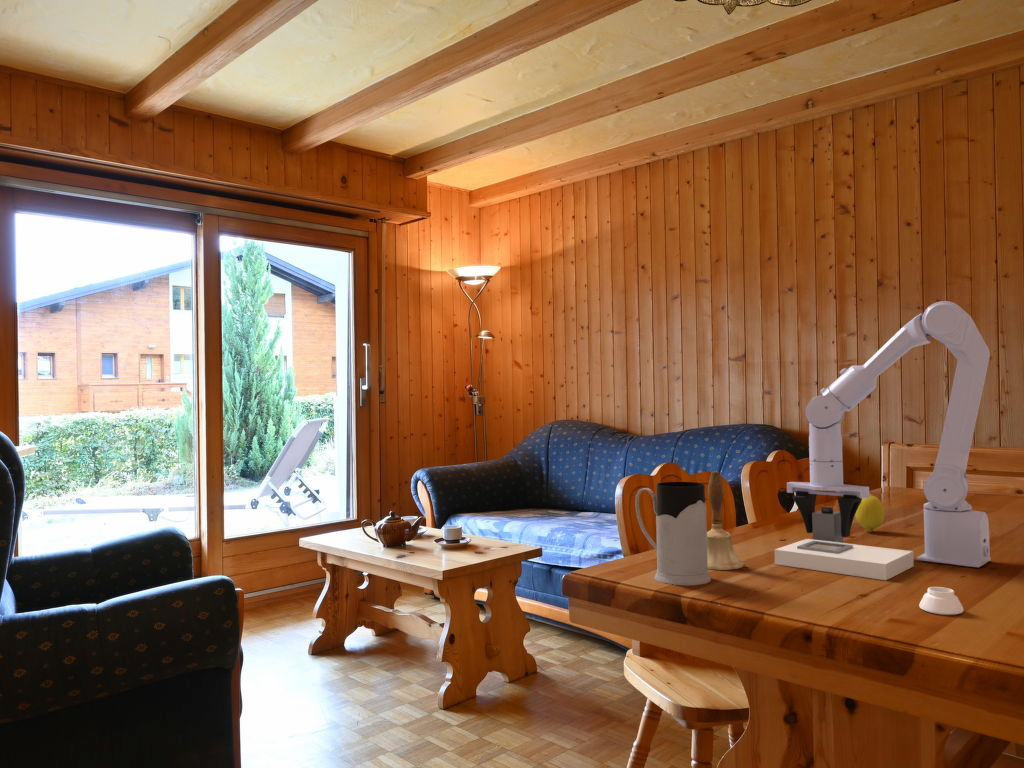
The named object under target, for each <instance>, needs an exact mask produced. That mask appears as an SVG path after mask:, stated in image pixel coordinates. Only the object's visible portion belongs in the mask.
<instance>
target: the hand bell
mask: <svg viewBox="0 0 1024 768" xmlns="http://www.w3.org/2000/svg"><path fill="white" fill-rule="evenodd" d="M710 473H711V474H710V477H709V480H708V485H707V494H708V500H709V502H710V506H711V529H710V530H707V562H708V570H714V571H731V570H738V569H741V568H744V566H745V565H744V562H743V561H742V560H741V559H740V558H739V557H738V555H737V553H736V552H735V548H734V546H733V542H732V534H731V533H729V532H728V531H726V530H724V529H723V522H722V505H723V500H724V494H725V493H724V492H725V491H724V483H723V481H722V477H721V476H720V471H711V472H710Z"/></svg>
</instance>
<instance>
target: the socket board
mask: <svg viewBox="0 0 1024 768" xmlns="http://www.w3.org/2000/svg"><path fill="white" fill-rule="evenodd" d="M774 565H778V566H785V567H791V568H799V569H805V570H813V571H818V572H825V573H830V574H831V573H832V574H837V575H838V574H839V575H845V576H854V577H859V578H867V579H873V580H880V581H887V580H889V579H890V580H891V578H893V577H896V576H897V575H899V574H901V573H903V572H905V571H907V570H909V569H911V568H913V567H914V566H915V564H914V551H913V550H906V549H897V548H889V547H880V546H870V545H864V544H863V545H862V544H855V543H847V542H843V543H839V542H831V541H822V540H814V539H813V538H805V539H802V540H799V541H796V542H793V543H790V544H787V545H783V546H782V547H778V548H775V549H774Z"/></svg>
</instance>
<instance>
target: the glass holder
mask: <svg viewBox="0 0 1024 768" xmlns="http://www.w3.org/2000/svg"><path fill="white" fill-rule="evenodd" d="M705 487H706V486H705V483H704V482H703V483H702V482H698V481H697V482H695V481H662V482H658V483H656V494H655V492H654V491H653V490H652V489H651V488H648V487H643V488H640V489H638V491H637V492H636V495H635V500H634V501H635V504H634V505H635V512H636V518H637V521H638V525H639V527H640V530H641V532H642V533H643V536H644V537H645V538H646V539H647V541H648V542H649V544H650V545H651V546H652V547H653V548H654V550H655V552H656V563H657V564H656V566H657V567H656V568H657V569H656V573H655V575H654V580H655V581H657V582H658V583H661V584H662V583H663V584H666V583H667V584H666V585H672V584H673V586H674V585H675V586H699V585H705V584H708V583H709V582H711V581H712V579H711V576H710V575H709V574H710V573H709V571H708V570H709V569H708V562H707V532H708V529H707V527H708V526H707V524H708V523H707V503H706V491H705V489H706V488H705ZM643 491H646V492H648V493H649V495H650V496H651V500H652V505H653V506H652V508H653V512H654V514H655V515H656V516H655V527H656V542H655V541H654V540H653V539H652V537H651V536H650V534H649V532H648V530H647V529H646V527H645V525H644V522H643V519H642V515H641V511H640V495H642V492H643Z"/></svg>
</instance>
